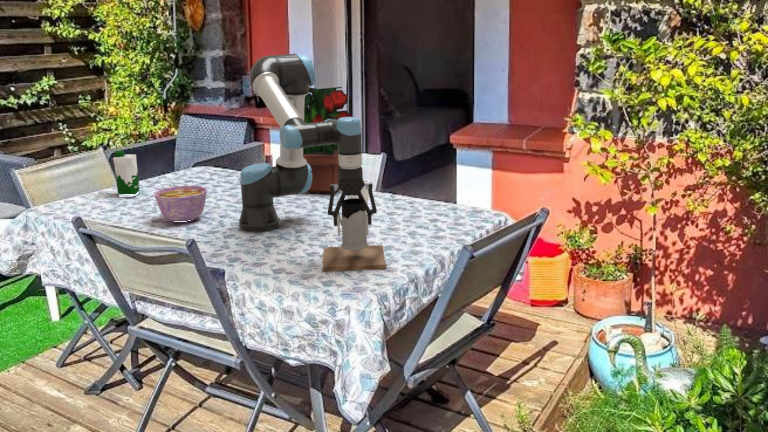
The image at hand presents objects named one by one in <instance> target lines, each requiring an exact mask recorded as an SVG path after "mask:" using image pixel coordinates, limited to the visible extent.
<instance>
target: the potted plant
mask: <svg viewBox="0 0 768 432" xmlns="http://www.w3.org/2000/svg"><path fill="white" fill-rule="evenodd" d="M342 88H343V86H337V87H336V86H335V87H327V88H326V87H325V88H316V87H315V88H314V87H312V86H309V93H308V94H307V95H306V96H305V103H304V122H305V123H316V122H324V121H325V120H327V119H336V120H338V119H339V118H343V117H352V111H351V110H350V112H349V111H348V110H344V108H345V105H347V104H348V102H349V100H348V99H349V97H348V94H346V93H344V90H342ZM342 109H343V110H342ZM303 157H304V158H305V159H306V160H307V163H308V164H309V165H310V167H311V170H312V171H311V173H312V183H311V186H310V188H309V190H308V191H307V192H305V193H306V194H313V195H314V194H316V195H317V194H318V195H330V194H331V190H330V184H338V182H339V168H340V166H339V160H338V145H336V144H329V145H321V146H312V147H305V148H303ZM338 188H339V187H338ZM338 188H337V190H339V189H340V188H339V189H338Z"/></svg>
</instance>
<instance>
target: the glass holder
mask: <svg viewBox="0 0 768 432" xmlns="http://www.w3.org/2000/svg"><path fill="white" fill-rule="evenodd" d="M337 203H338V201H337V202H336V204H337ZM341 204H342V206H341V214H340V211H339V212H338V215H339V217H340V226H341V239H342V240H341V241H342V243H341V246H340V247H341V248H343V249H345V250H362V249H365V248H367V247H368V246H369V244H368V240H367V235H366V213H365V200H364V202H363V203H361V201H360V199H358V198H351V199H348V198H345V199H344V201H343V203H342V202H341Z"/></svg>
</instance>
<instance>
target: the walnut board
mask: <svg viewBox="0 0 768 432" xmlns="http://www.w3.org/2000/svg"><path fill="white" fill-rule="evenodd" d="M322 258H323V259H322V272H323V273H324V272H345V271H346V272H347V271H349V272H350V271H369V270H372V271H374V270H387V262H386V257H385V251H384V245H383V244H375V245H368V247H367V248H365V249H362V250H345V249H343V248H341V246H326V247H325V246H324V247H323V255H322Z"/></svg>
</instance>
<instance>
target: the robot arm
mask: <svg viewBox="0 0 768 432" xmlns="http://www.w3.org/2000/svg"><path fill="white" fill-rule="evenodd" d="M316 74H317V73H316V69H315V65H314V63H313V60H312V58H311V57H310V56H309V55H307V54H305V53H297V52H296V53H289V54H286V53H285V54H277V55H276V54H275V55H274V54H273V55H271V54H270V55H265V56H262V57H261V58H259V59H257V61H255V63H254V64H252V67H251V69H250V71H249V75H248V77H249V78H248V79H249V85H250V87H251V89H252V91H253V92H254V94H255V95H256V96H258V97H260V98H261V99H262V101H263V103H264V104H265V105H266V107H267V109H268V110H269V112H270V114H271V115H272V117H273V118H274V120H275V121H276V123H277V124H278V126H279V127H280V130H279V140H280V141H279V142H280V143H279V146H280V147H279V157H277V158H276V160H275V166H272V165H271V164H270V163H268V162H267V163H266V162H263V163H254V164H251V165H248V166H245V167H244V168H242V169H241V170H240V175H239V177H240V179H239V183H240V191H241V202H242V203H241V204H242V207H241V208H242V209H241V214H240V217H239V220H238V226H239V227H238V228H239V230H242V231H243V230H244V232H251V233H259V232H268V231H272V230H275V229H277V228H278V227H280V225H281V224H280V217H279V215H278V213H277V211H276V208H275V205H274V203H275V202H274V198H279V197H280V198H281V197H288V196H294V195H295V196H296V195H301V194H304V193H306V192H307V191H308V190H309V188H310V186H311V183H312V173H311V171H312V170H311V167H310V165H309V164H308V163H307V160H306V159H305V158H304V157H303V148H305V147H312V146H321V145H329V144H336V145H338V160H339V166H340V168H339V182H338V184H330V190H331V194H329V195H330V196H329V203H328V207H327V209H328V210H327V215H328V216H332V217H333V226H334V227H337V237H341V223H340V217H341V216H340V217H339V215H338V212H339V213H340V209H342V204H341V202H342V203H343V201H344V200H345V199H346V197H348V196H350V195H354V196H357V195H358V197H359V199H360V201H361V203H363V202H364V200H365V199H364V197H363V195H362V193H361V190H362V188H363V187H364V186H365V187H366V189H367V190H368V192H369V201H370V204H371V208H370V207H369V204H368V205H367V203H366V201H365V210H366V212H367V214H366V236H369V226H371V225H372V221H373V220H372V215H375V214H377V213H378V210H377V206H376V202H375V197H374V194H373V189H374V188H373V187H374V186H373V183H372V182H371V181H370V183H364V181H363V179H364V176H363V175H364V172H363V167H362V166H363V151H362V150H363V148H362V147H363V146H362V141H363V140H362V138H363V137H362V136H363V135H362V132H363V131H362V130H363V129H362V126H361V125H362V124H361V122H362V121H361V120H360V118H359V117H356V116H355V117H354V116H351V117H343V118H339V119H338V120H336V119H327V120H325V121H324V122H316V123H305V122H304V103H305V96H306V95H307V94H308V93H309V87H312V86H314V85H315V83H316V81H317V80H316V79H317V75H316ZM338 187H339V190H340V191H341V194H340V197H339V199H338V201H337V202H338V203H337V202H336V206H335V209H334V210H333V207H334V201H335V192H336V191H337V190H338V189H337V188H338Z"/></svg>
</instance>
